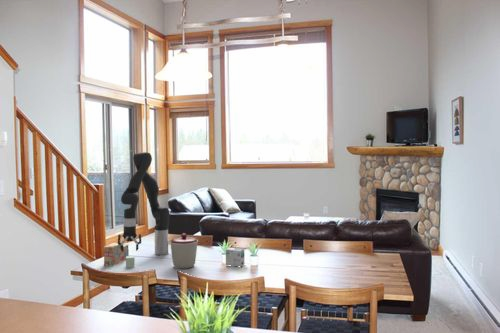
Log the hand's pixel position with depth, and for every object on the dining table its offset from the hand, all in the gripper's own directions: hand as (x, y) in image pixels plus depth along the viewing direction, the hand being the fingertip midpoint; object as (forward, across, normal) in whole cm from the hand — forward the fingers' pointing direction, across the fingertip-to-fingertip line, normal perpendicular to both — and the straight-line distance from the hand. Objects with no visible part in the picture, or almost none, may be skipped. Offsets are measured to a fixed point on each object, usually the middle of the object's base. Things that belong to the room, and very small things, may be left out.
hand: (129, 250), depth 269 cm
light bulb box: (+10, -66, +11) cm, 67 cm away
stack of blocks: (+10, +9, -14) cm, 20 cm away
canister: (+10, -34, +8) cm, 36 cm away
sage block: (+10, 0, 0) cm, 10 cm away
